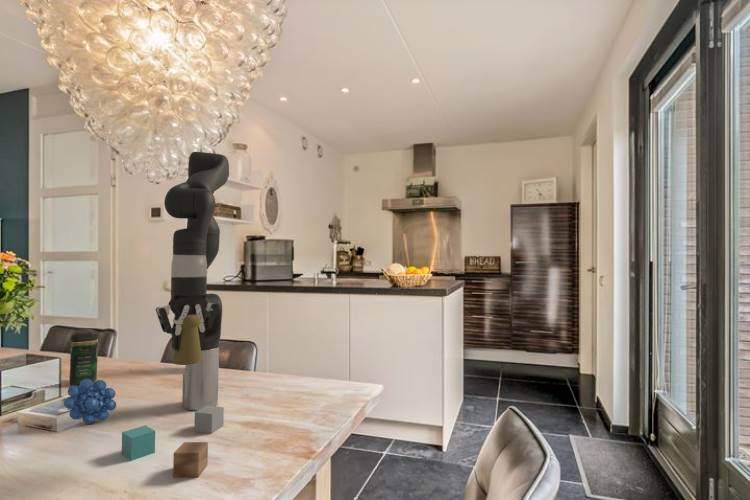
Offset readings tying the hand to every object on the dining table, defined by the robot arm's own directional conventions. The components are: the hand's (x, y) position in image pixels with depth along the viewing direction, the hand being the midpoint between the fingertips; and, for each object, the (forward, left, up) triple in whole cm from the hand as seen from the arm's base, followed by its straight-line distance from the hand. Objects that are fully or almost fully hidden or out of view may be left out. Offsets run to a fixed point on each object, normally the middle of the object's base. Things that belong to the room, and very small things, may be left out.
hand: (187, 349), depth 96 cm
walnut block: (+8, -6, -23) cm, 25 cm away
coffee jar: (-75, +24, -23) cm, 82 cm away
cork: (0, 0, -3) cm, 3 cm away
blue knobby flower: (-35, +1, -23) cm, 42 cm away
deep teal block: (-9, -5, -23) cm, 25 cm away
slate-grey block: (-5, +12, -23) cm, 27 cm away
